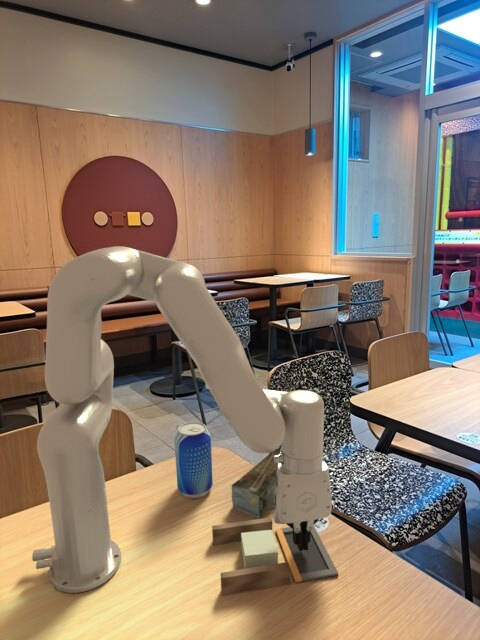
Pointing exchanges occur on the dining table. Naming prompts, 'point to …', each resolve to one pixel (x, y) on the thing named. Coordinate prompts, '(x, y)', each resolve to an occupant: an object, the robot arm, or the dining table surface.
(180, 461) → the beer can
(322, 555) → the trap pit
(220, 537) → the brown parallel walls
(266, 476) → the beverage carton
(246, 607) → the dining table surface
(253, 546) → the block
